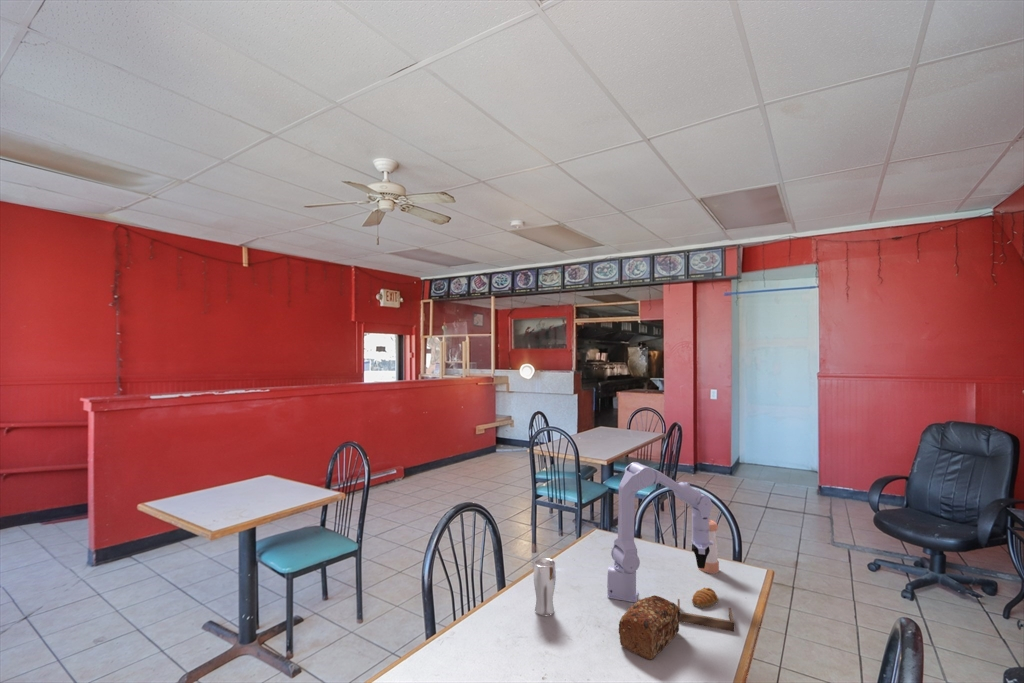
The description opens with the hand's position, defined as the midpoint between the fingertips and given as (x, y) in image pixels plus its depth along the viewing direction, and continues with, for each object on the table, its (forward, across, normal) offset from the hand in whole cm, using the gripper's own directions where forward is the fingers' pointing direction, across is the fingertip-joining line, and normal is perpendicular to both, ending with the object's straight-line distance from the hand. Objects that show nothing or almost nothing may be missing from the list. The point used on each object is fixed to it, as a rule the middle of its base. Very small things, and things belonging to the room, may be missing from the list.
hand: (700, 567), depth 163 cm
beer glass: (+7, -34, +48) cm, 59 cm away
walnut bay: (+7, -21, 0) cm, 22 cm away
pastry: (+8, -10, -1) cm, 13 cm away
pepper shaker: (+7, +17, -3) cm, 19 cm away
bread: (+7, -38, +15) cm, 42 cm away
